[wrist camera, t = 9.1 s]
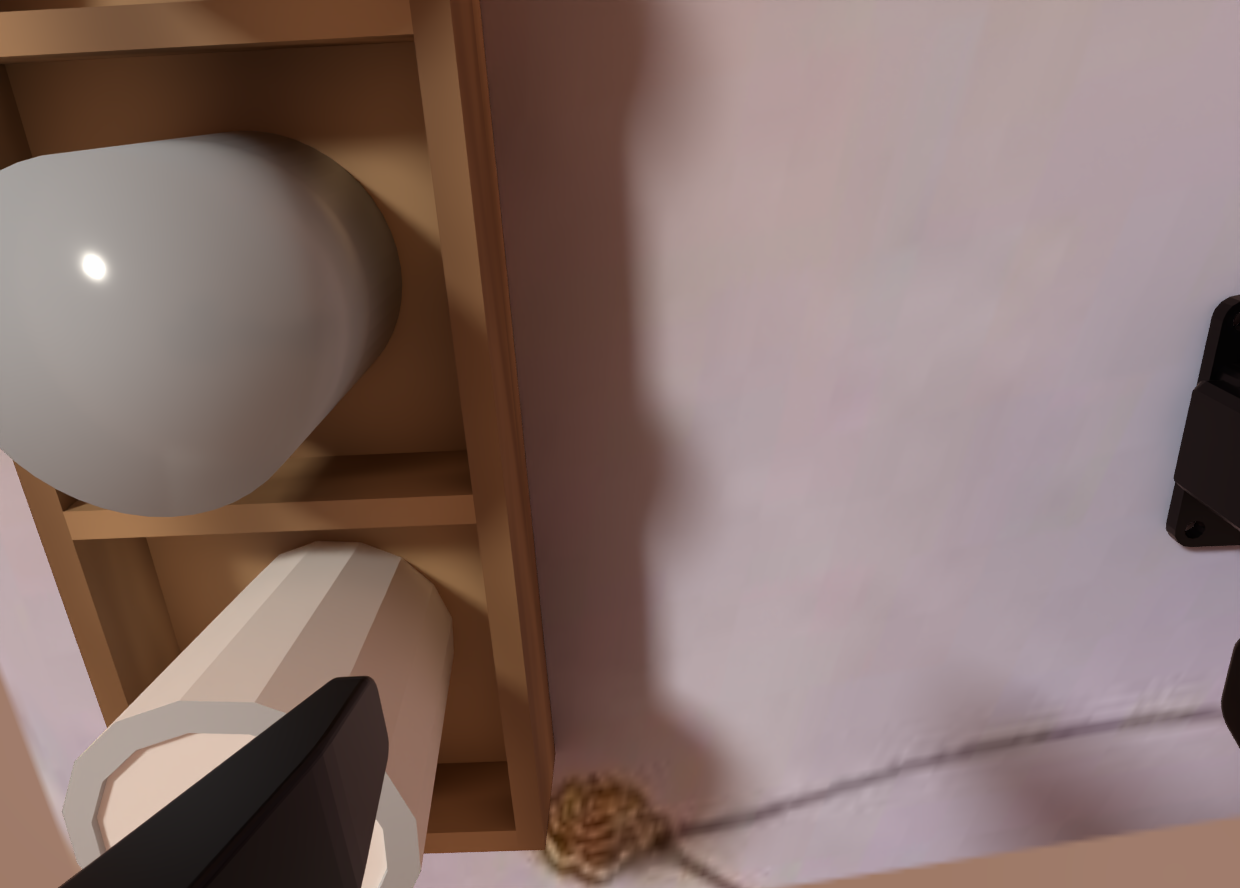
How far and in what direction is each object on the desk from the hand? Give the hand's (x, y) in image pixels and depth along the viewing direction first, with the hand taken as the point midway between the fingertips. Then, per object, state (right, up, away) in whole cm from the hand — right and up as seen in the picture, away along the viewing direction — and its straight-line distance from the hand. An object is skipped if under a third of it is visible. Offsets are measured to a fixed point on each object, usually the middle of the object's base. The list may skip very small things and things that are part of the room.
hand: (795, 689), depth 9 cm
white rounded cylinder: (-10, +6, +10) cm, 15 cm away
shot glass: (-9, -2, +14) cm, 17 cm away
